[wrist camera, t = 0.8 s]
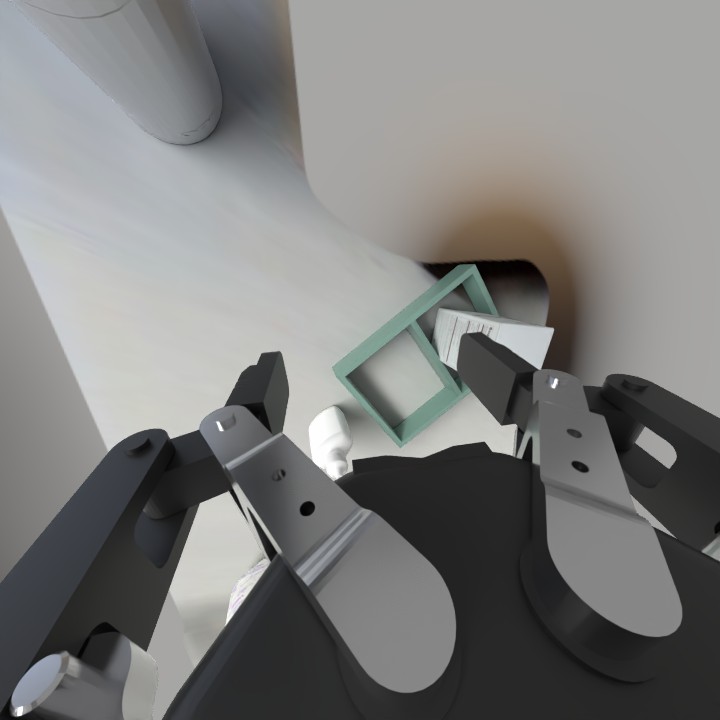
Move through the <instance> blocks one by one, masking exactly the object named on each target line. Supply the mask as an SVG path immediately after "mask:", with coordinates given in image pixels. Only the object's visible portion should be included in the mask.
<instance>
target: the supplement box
mask: <svg viewBox="0 0 720 720" xmlns="http://www.w3.org/2000/svg"><path fill="white" fill-rule="evenodd" d="M553 331H554V328H550V327H545V326H540V325H536V324H531V323H526V322H522V321H517V320H513V319H509V318H504V317H500V316H495V315H490V314H486V313H481V312H470V311H461V310H452V309H445V308H439V310H438V314H437V319H436V324H435V328H434V333H433V337H432V342H431V345H432V347H433V349H434V350H435V352H436V353H437V355H438V356H439V358H440V361H441V362H443V363H445V364H446V365H448V366H450V367H451V368H453V369H454V370H456V371H457V358H458V352H459V345H460V339H461V336H462V335H463V334H464V333H473V332H482V333H484V334H485V335H486V336H488V337H489V338H491V339H492V340H493V341H495V342H497V343H499V344H502V345H504V346H506V347H507V348H509V349H510V350H512V351H513V352H514V353H516V354H517V355H519V357H522V358H523V359H524V360H526V361H527V362H529V363H530V364H532V365H533V366H534V367H536V368H537V369H539V370H541V367H542V364H543V361H544V358H545V355H546V352H547V349H548V347H549V343H550V341H551V338H552V335H553Z"/></svg>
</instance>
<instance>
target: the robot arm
mask: <svg viewBox="0 0 720 720" xmlns="http://www.w3.org/2000/svg"><path fill="white" fill-rule="evenodd" d="M8 1H9V2H10V3H12V4H13V5H14V6H15V7H16V8H17V9H18V10H19V11H20V12H21V13H22V14H23V15H24V16H25V17H26V18H27V19H28V20H29V21H30V22H31V23H32V24H33V25H34V26H35V27H37V28H38V29H39V30H40V31H41V32H42V33H43V34H44V35H45V36H46V37H47V38H48V39H49V40H50V41H51V42H52V43H53V44H54V45H55V46H56V47H57V48H58V49H59V50H60V51H61V52H63V53H64V54H65V55H66V56H67V57H68V58H69V59H70V60H71V61H72V62H73V63H74V64H75V65H76V66H77V67H78V68H79V69H80V70H81V71H82V72H83V73H84V74H85V75H86V76H88V77H89V78H90V79H91V80H92V81H93V82H94V83H95V84H96V85H97V86H98V87H99V88H100V89H101V90H102V91H103V92H104V93H105V94H106V95H107V96H108V97H109V98H110V99H111V100H112V101H113V102H114V103H115V104H116V105H118V106H119V107H120V108H121V109H122V110H123V111H124V112H125V113H126V114H127V115H128V116H129V117H130V118H131V119H132V120H133V121H134V122H135V123H137V124H138V125H139V126H140V127H141V128H142V129H143V130H145V131H146V132H148V133H150V134H151V135H153V136H154V137H156V138H158V139H161V140H163V141H166V142H169V143H174V144H192V143H196V142H199V141H201V140H203V139H204V138H206V137H207V136H208V135H209V134H210V133H211V132H212V131H213V130H214V129H215V127H216V125H217V123H218V121H219V119H220V115H221V111H222V92H221V85H220V81H219V78H218V75H217V72H216V69H215V67H214V64H213V61H212V58H211V56H210V53H209V50H208V48H207V44H206V42H205V39H204V36H203V33H202V31H201V28H200V25H199V23H198V20H197V17H196V14H195V12H194V9H193V6H192V4H191V1H190V0H8ZM457 372H458V375H459V377H460V378H461V379H462V381H463V382H464V383H465V384H466V385H467V386H468V387H469V389H470V390H471V391H472V392H473V393H474V394H475V396H476V397H477V398H478V399H479V400H480V401H481V403H482V404H483V405H484V406H485V407H486V408H487V409H488V411H489V412H490V413H491V414H492V415H493V416H494V418H495V419H496V420H497V421H498V422H499V423H500V425H501V426H502V425H509V424H516V425H517V427H516V430H515V436H514V447H513V456H511V455H507V454H502V453H496V452H492V451H491V449H490V448H489V447H488V445H487V444H486V443H485V442H479V443H472V444H465V445H457V446H452V447H450V448H447V449H445V450H442V451H440V452H437V453H435V454H432V455H430V456H427V457H424V458H414V457H400V456H378V457H371V458H364V459H357V460H352V465H353V471H352V472H350V473H347V474H345V475H343V476H342V477H340V478H338V479H337V480H335V481H333V480H332V479H331V478H329V477H328V476H327V475H326V474H325V473H324V472H323V471H322V470H321V469H320V468H319V467H318V466H317V465H316V464H315V463H314V462H313V461H312V460H311V459H310V458H309V457H307V456H306V455H305V454H304V453H303V452H302V451H301V450H300V449H299V448H298V447H297V446H296V445H295V444H294V443H293V442H292V441H291V440H290V439H289V438H288V437H287V436H285V435H284V434H283V433H282V431H283V426H284V420H285V415H286V409H287V403H288V398H289V385H288V380H287V375H286V371H285V366H284V361H283V357H282V354H281V352H280V351H278V352H268V353H262V354H261V356H260V358H259V361H258V363H257V365H252V366H249V367H248V368H247V369H246V370H244V371H243V372H242V373H241V375H240V377H239V379H238V382H237V383H236V385H235V388H234V389H233V391H232V393H231V395H230V397H229V399H228V400H227V402H226V404H225V406H224V407H223V408H220V409H218V410H215V411H214V412H212V413H210V414H209V415H208V416H206V417H205V418H204V419H203V421H202V422H201V424H200V427H199V430H197V431H194V432H191V433H188V434H185V435H182V436H179V437H176V438H173V439H170V438H169V436H168V434H167V432H166V431H165V430H162V429H149V430H144V431H141V432H138V433H136V434H133V435H131V436H129V437H127V438H126V439H124V440H122V441H121V442H119V443H118V444H117V445H116V446H114V447H113V448H112V449H111V450H110V451H109V453H108V454H107V455H106V456H105V457H104V459H103V460H102V461H101V462H100V464H99V465H98V466H97V467H96V468H95V470H94V471H93V472H92V473H91V474H90V476H89V477H88V478H87V479H86V480H85V482H84V483H83V484H82V485H81V487H80V488H79V489H78V490H77V491H76V493H75V494H74V495H73V496H72V498H71V499H70V500H69V501H68V502H67V503H66V505H65V506H64V507H63V508H62V510H61V511H60V512H59V513H58V514H57V516H56V517H55V518H54V519H53V520H52V522H51V523H50V524H49V525H48V527H47V528H46V529H45V530H44V531H43V533H42V534H41V535H40V536H39V537H38V539H37V540H36V541H35V542H34V543H33V545H32V546H31V547H30V548H29V550H28V551H27V552H26V553H25V554H24V556H23V557H22V558H21V559H20V560H19V562H18V563H17V564H16V565H15V566H14V568H13V569H12V570H11V571H10V572H9V574H8V575H7V576H6V577H5V579H4V580H3V581H2V582H1V583H0V720H153V719H152V718H153V717H152V714H153V705H154V700H155V695H156V690H157V685H158V668H157V664H156V662H155V660H154V658H153V657H152V656H150V655H149V654H148V653H147V652H146V651H147V649H148V646H149V643H150V640H151V638H152V635H153V632H154V629H155V627H156V624H157V621H158V618H159V615H160V612H161V610H162V607H163V604H164V601H165V599H166V596H167V593H168V590H169V588H170V585H171V582H172V579H173V577H174V574H175V571H176V568H177V565H178V563H179V560H180V557H181V554H182V552H183V549H184V546H185V543H186V540H187V538H188V535H189V532H190V529H191V526H192V524H193V521H194V518H195V515H196V513H197V510H198V507H199V504H200V503H201V502H204V501H206V500H209V499H211V498H213V497H216V496H218V495H221V494H223V493H225V492H228V493H229V495H230V496H231V498H232V500H233V501H234V503H235V505H236V506H237V508H238V510H239V511H240V513H241V515H242V516H243V518H244V520H245V521H246V523H247V525H248V526H249V528H250V530H251V531H252V533H253V535H254V537H255V539H256V541H257V543H258V545H259V547H260V548H261V550H262V552H263V554H264V556H265V558H266V559H267V561H268V563H269V566H268V567H267V568H266V570H265V571H264V573H263V574H262V575H261V577H260V578H259V580H258V581H257V582H256V584H255V585H254V587H253V588H252V589H251V591H250V592H249V594H248V595H247V596H246V598H245V599H244V601H243V602H242V603H241V605H240V606H239V608H238V609H237V610H236V612H235V613H234V615H233V616H232V617H231V619H230V620H229V622H228V623H227V624H226V626H225V627H224V629H223V630H222V631H221V633H220V634H219V636H218V637H217V638H216V640H215V641H214V643H213V644H212V645H211V647H210V648H209V650H208V651H207V652H206V654H205V655H204V657H203V658H202V659H201V661H200V662H199V664H198V665H197V666H196V668H195V669H194V671H193V672H192V674H191V675H190V676H189V678H188V679H187V681H186V682H185V683H184V685H183V686H182V688H181V689H180V690H179V692H178V693H177V695H176V697H175V698H174V700H173V701H172V703H171V704H170V706H169V708H168V710H167V711H166V713H165V715H164V717H163V719H162V720H720V418H718V417H716V416H714V415H713V414H711V413H709V412H707V411H705V410H703V409H701V408H699V407H698V406H696V405H694V404H692V403H690V402H688V401H686V400H684V399H682V398H681V397H679V396H677V395H675V394H673V393H671V392H669V391H667V390H665V389H664V388H662V387H660V386H658V385H656V384H654V383H652V382H650V381H648V380H645V379H642V378H639V377H635V376H631V375H625V374H612V375H609V376H607V378H606V380H605V382H604V384H603V386H602V387H595V386H583V385H582V383H581V382H580V381H579V380H578V379H577V378H575V377H574V376H572V375H569V374H567V373H564V372H561V371H556V370H547V369H545V370H539V369H537V368H536V367H534V366H533V365H532V364H530V363H529V362H527V361H526V360H524V359H523V358H522V357H519V355H517V354H516V353H514V352H513V351H512V350H510V349H509V348H507V347H506V346H504V345H502V344H499V343H497V342H495V341H493V340H492V339H491V338H489V337H488V336H486V335H485V334H484V333H482V332H473V333H464V334H463V335H462V336H461V339H460V345H459V352H458V358H457ZM645 426H646V427H647V428H649V429H650V430H652V431H653V432H654V433H656V434H657V435H659V436H660V437H662V438H663V439H665V440H666V441H667V442H669V443H670V444H671V445H672V446H673V447H674V449H675V451H676V454H677V459H676V461H675V463H674V464H673V465H672V466H671V468H670V469H668V468H667V467H665V466H664V465H663V464H662V463H660V462H659V461H658V460H656V459H655V458H654V457H652V456H651V455H650V454H648V453H647V452H646V451H645V450H643V449H642V448H641V447H639V446H638V445H637V444H636V443H635V442H636V440H637V438H638V437H639V435H640V434H641V432H642V430H643V429H644V427H645ZM630 494H631V495H632V496H633V497H634V498H635V499H636V500H637V501H638V502H639V503H640V504H641V505H642V506H643V507H644V508H646V509H647V510H648V511H649V512H650V513H651V514H652V515H653V516H654V517H655V518H656V519H657V520H658V521H659V522H660V523H661V524H662V525H663V526H664V527H665V528H666V529H667V530H669V531H670V532H671V533H672V534H673V535H674V536H675V537H676V538H677V539H676V538H674V537H672V536H670V535H668V534H666V533H665V532H663V531H661V530H659V529H657V528H655V527H653V526H651V524H650V523H649V521H648V520H646V519H645V518H643V517H641V516H640V515H638V513H637V512H636V510H635V508H634V505H633V502H632V499H631V496H630Z"/></svg>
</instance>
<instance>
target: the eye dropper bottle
mask: <svg viewBox="0 0 720 720" xmlns="http://www.w3.org/2000/svg"><path fill="white" fill-rule="evenodd" d="M309 438H310V446H311V454H312V459H313V462H314V463H315V464H316V465H317V466H319V467H320V468H322V469H326V468H327V472H328V474H329V475H330V476H331V477H336V479H338V478H340V477H342V476H343V475H344V474H345V473H346V472H347V470H348V464H347V461H346V458H345V457H346V456H347V454H348V453H349V451H350V449H351V447H352V444H353V438H352V435H351V432H350V429H349V426H348V424H347V421H346V418H345V416H344V413H343V412H342V411H341V410H340V409H339V408H338V407H336V406H331V407H329V408H327V409H325V410H323V411H322V412H320V413H319V414H318V415H317V416H316V417H315V418H314V420H313V421H312V423H311V424H310V427H309Z"/></svg>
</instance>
